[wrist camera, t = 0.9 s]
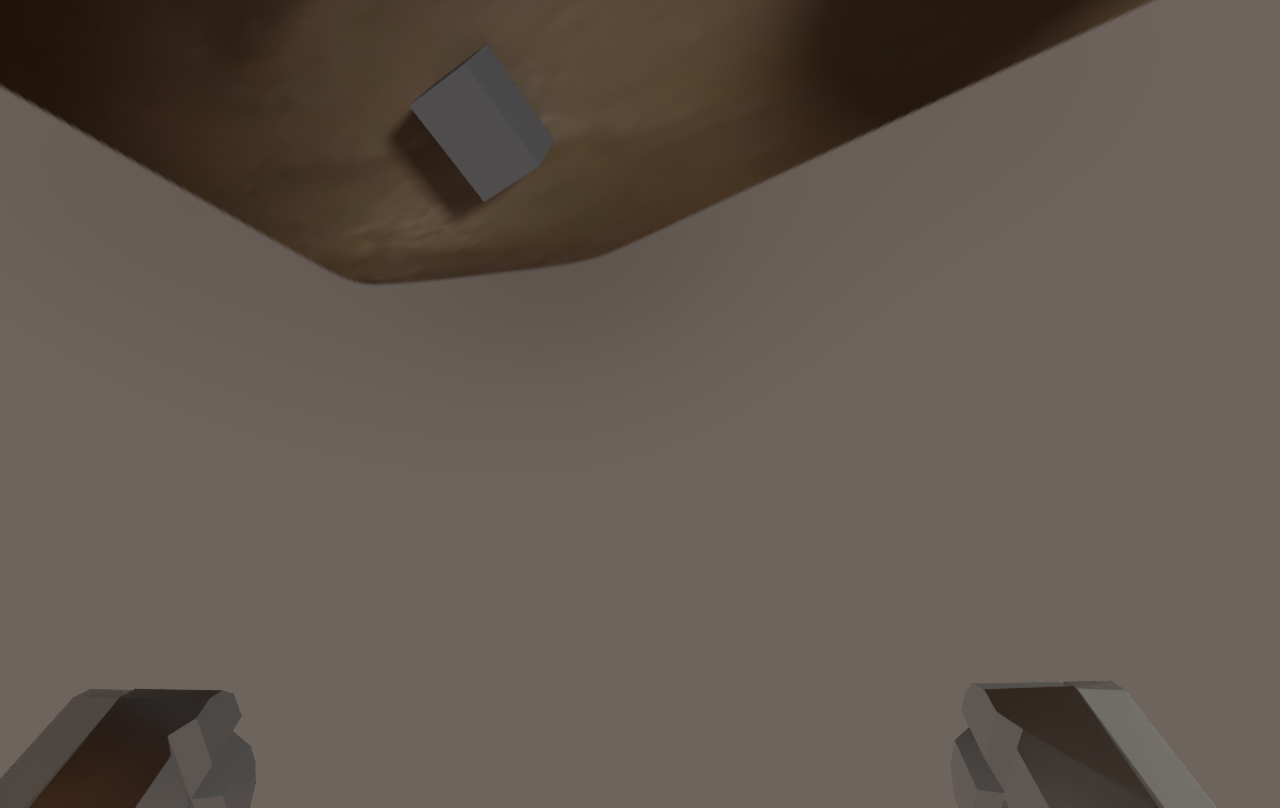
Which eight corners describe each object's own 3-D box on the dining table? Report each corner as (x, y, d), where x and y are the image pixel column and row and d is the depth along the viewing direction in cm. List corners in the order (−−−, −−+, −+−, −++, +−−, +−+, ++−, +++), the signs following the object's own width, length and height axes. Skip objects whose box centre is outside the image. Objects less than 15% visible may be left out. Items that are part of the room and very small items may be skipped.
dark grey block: (487, 42, 48) (464, 63, 44) (554, 139, 51) (539, 166, 47) (435, 82, 50) (409, 105, 46) (503, 173, 53) (484, 202, 49)
